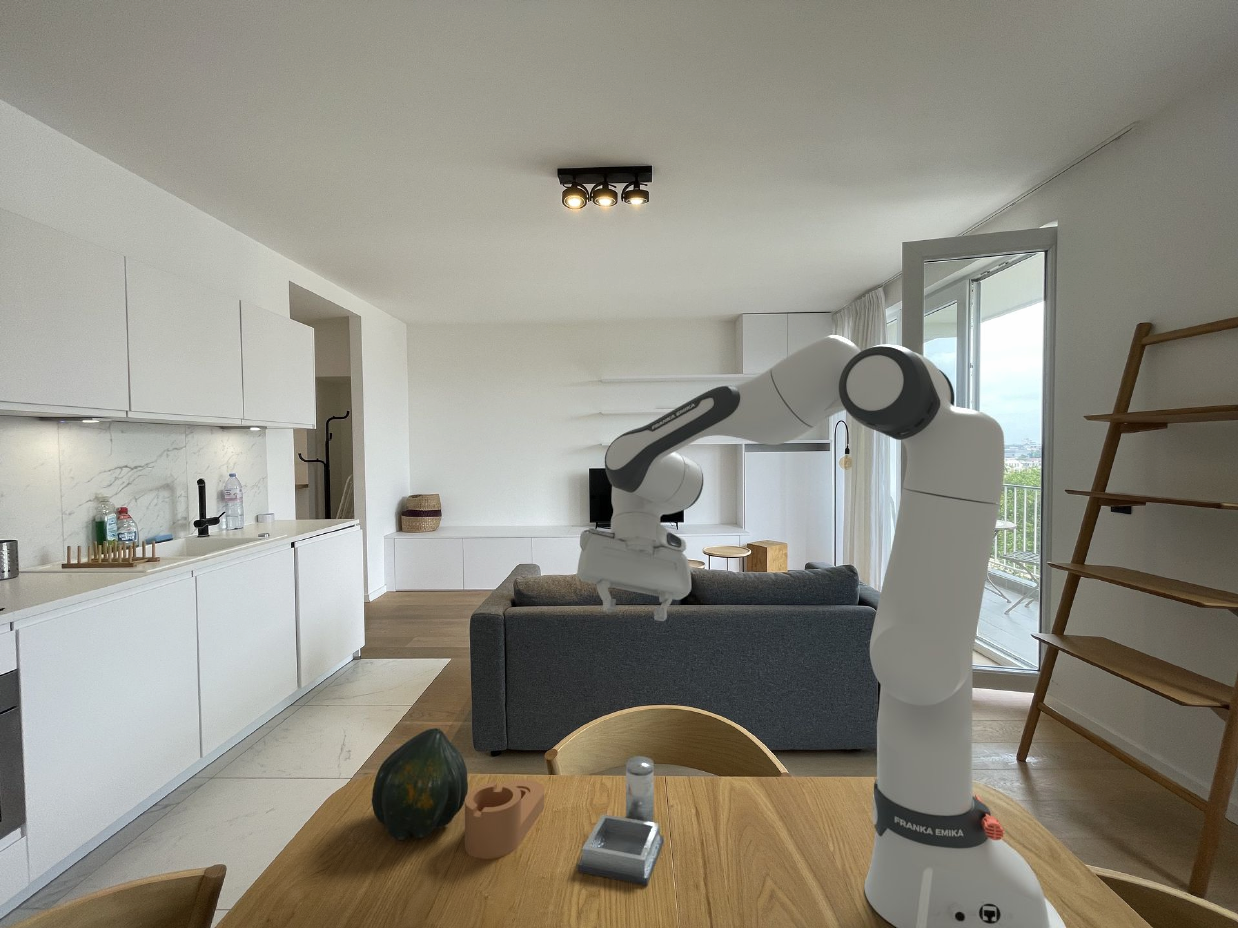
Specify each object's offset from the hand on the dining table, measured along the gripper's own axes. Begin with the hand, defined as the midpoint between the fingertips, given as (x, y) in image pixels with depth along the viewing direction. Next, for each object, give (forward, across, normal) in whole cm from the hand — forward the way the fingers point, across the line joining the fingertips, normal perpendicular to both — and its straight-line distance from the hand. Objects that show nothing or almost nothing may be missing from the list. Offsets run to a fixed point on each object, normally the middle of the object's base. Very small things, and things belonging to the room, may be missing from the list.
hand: (635, 615), depth 100 cm
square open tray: (+33, +2, +7) cm, 34 cm away
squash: (+30, -24, +28) cm, 47 cm away
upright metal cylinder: (+28, +8, +13) cm, 32 cm away
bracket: (+30, -11, +22) cm, 39 cm away
